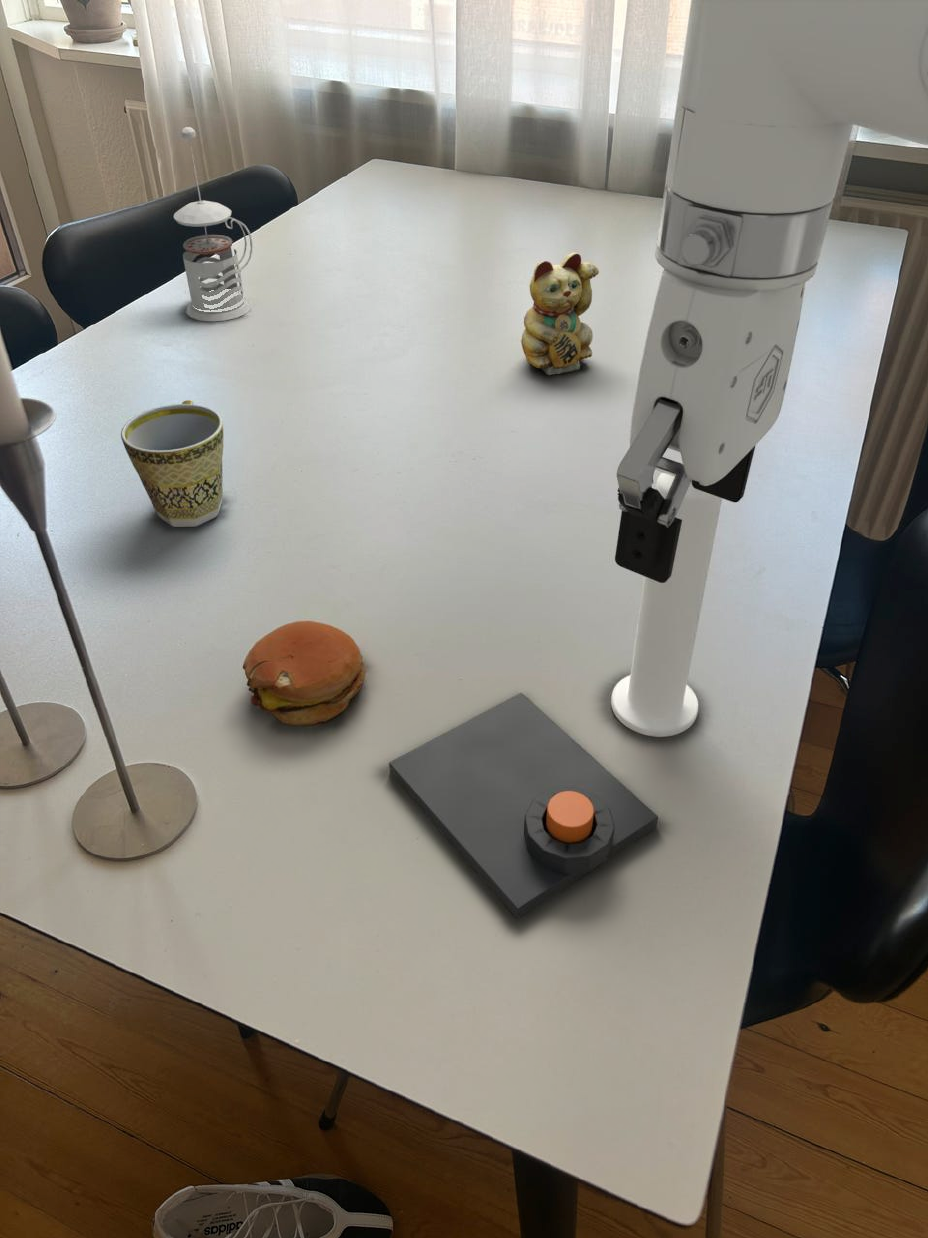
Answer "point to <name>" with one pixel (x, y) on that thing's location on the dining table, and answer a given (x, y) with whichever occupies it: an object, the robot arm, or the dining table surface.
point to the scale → (519, 801)
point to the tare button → (569, 816)
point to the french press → (220, 245)
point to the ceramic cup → (178, 460)
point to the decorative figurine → (559, 315)
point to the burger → (304, 672)
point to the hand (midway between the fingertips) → (681, 530)
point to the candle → (670, 626)
